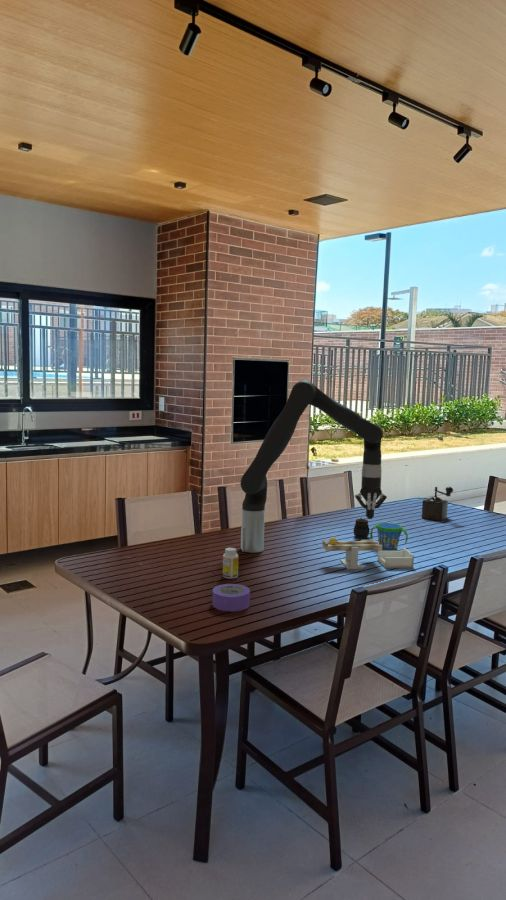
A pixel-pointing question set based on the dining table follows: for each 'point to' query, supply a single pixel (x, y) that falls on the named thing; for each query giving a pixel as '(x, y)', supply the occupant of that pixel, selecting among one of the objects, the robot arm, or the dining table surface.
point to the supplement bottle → (230, 563)
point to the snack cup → (389, 535)
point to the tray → (396, 559)
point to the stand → (351, 559)
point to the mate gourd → (361, 528)
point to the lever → (353, 545)
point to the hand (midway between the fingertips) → (369, 518)
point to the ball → (333, 541)
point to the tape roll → (231, 597)
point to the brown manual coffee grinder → (436, 506)
